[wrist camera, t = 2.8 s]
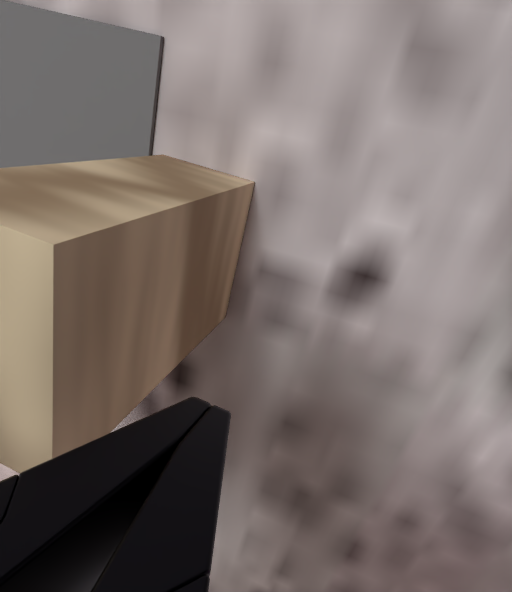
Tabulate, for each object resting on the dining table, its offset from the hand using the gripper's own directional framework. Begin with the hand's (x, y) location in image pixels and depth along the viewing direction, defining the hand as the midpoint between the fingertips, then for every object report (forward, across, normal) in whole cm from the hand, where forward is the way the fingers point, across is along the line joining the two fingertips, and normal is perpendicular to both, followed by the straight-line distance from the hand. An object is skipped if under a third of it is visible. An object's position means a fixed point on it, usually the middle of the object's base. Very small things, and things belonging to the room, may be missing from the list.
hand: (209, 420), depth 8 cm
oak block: (+9, +5, 0) cm, 10 cm away
